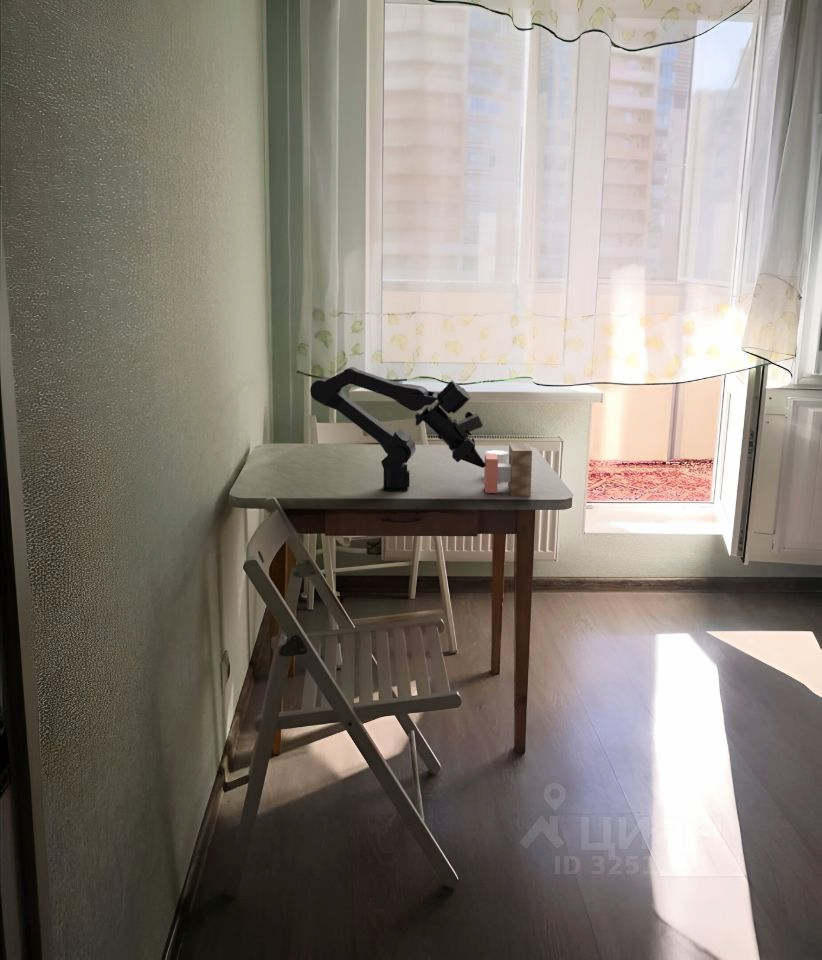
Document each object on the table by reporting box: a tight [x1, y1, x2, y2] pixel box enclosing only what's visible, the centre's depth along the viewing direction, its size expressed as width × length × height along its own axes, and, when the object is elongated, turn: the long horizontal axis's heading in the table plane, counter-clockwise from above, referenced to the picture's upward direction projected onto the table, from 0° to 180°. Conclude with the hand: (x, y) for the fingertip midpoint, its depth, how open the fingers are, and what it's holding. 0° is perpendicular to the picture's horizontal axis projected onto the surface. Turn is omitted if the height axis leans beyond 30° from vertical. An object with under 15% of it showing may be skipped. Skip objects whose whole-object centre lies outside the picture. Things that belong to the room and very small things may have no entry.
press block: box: [507, 442, 533, 497], centre depth 243 cm, size 5×10×12 cm, turn 179°
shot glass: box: [484, 449, 509, 464], centre depth 260 cm, size 7×7×7 cm
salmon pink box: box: [483, 452, 511, 494], centre depth 243 cm, size 9×7×9 cm
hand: (484, 466), depth 243 cm, fingers closed, pressing on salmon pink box
